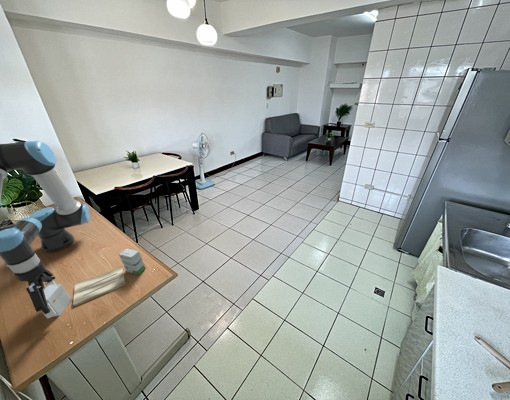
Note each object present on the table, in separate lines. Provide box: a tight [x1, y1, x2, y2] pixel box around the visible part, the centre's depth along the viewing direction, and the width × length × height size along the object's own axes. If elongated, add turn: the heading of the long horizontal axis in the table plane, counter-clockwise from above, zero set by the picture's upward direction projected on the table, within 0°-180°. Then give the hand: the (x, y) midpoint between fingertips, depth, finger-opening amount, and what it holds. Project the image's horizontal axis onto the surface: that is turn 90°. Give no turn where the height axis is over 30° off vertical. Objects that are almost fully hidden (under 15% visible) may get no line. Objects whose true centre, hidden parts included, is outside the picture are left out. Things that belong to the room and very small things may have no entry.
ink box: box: [118, 248, 146, 276], centre depth 107 cm, size 9×5×12 cm, turn 71°
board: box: [72, 266, 126, 308], centre depth 102 cm, size 13×20×1 cm, turn 124°
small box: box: [40, 283, 72, 318], centre depth 89 cm, size 8×6×10 cm
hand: (54, 303), depth 90 cm, fingers open, 13 cm apart
